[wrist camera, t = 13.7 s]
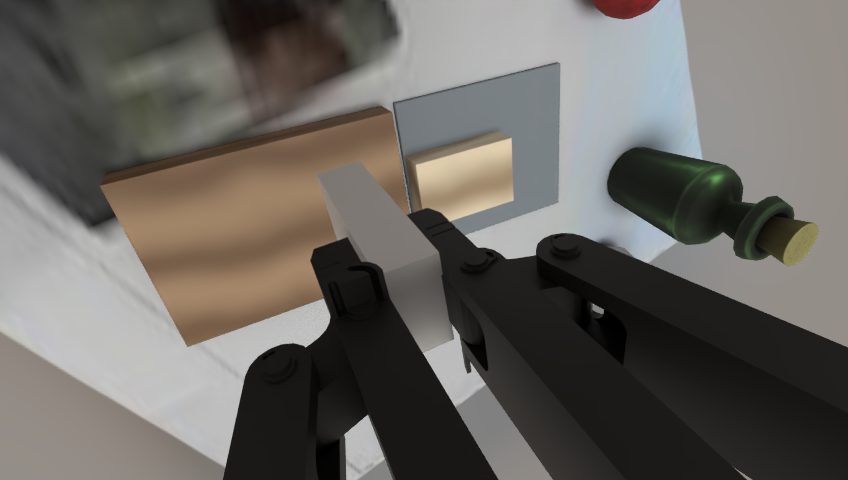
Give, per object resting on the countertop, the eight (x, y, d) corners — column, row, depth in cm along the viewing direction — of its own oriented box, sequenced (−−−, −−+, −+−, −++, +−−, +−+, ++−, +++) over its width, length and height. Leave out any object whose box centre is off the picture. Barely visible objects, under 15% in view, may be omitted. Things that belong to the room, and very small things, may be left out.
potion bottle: (638, 212, 55) (799, 289, 40) (590, 205, 51) (747, 288, 36) (668, 145, 52) (853, 202, 37) (619, 133, 48) (802, 191, 33)
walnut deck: (106, 173, 31) (99, 185, 29) (381, 106, 37) (392, 112, 35) (188, 328, 38) (187, 346, 36) (408, 252, 44) (418, 264, 42)
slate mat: (393, 103, 37) (394, 104, 37) (557, 62, 41) (560, 63, 41) (417, 249, 44) (419, 250, 44) (555, 201, 49) (558, 202, 48)
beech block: (404, 156, 39) (415, 165, 37) (496, 131, 41) (511, 137, 39) (414, 218, 42) (425, 229, 40) (499, 191, 44) (513, 200, 42)
